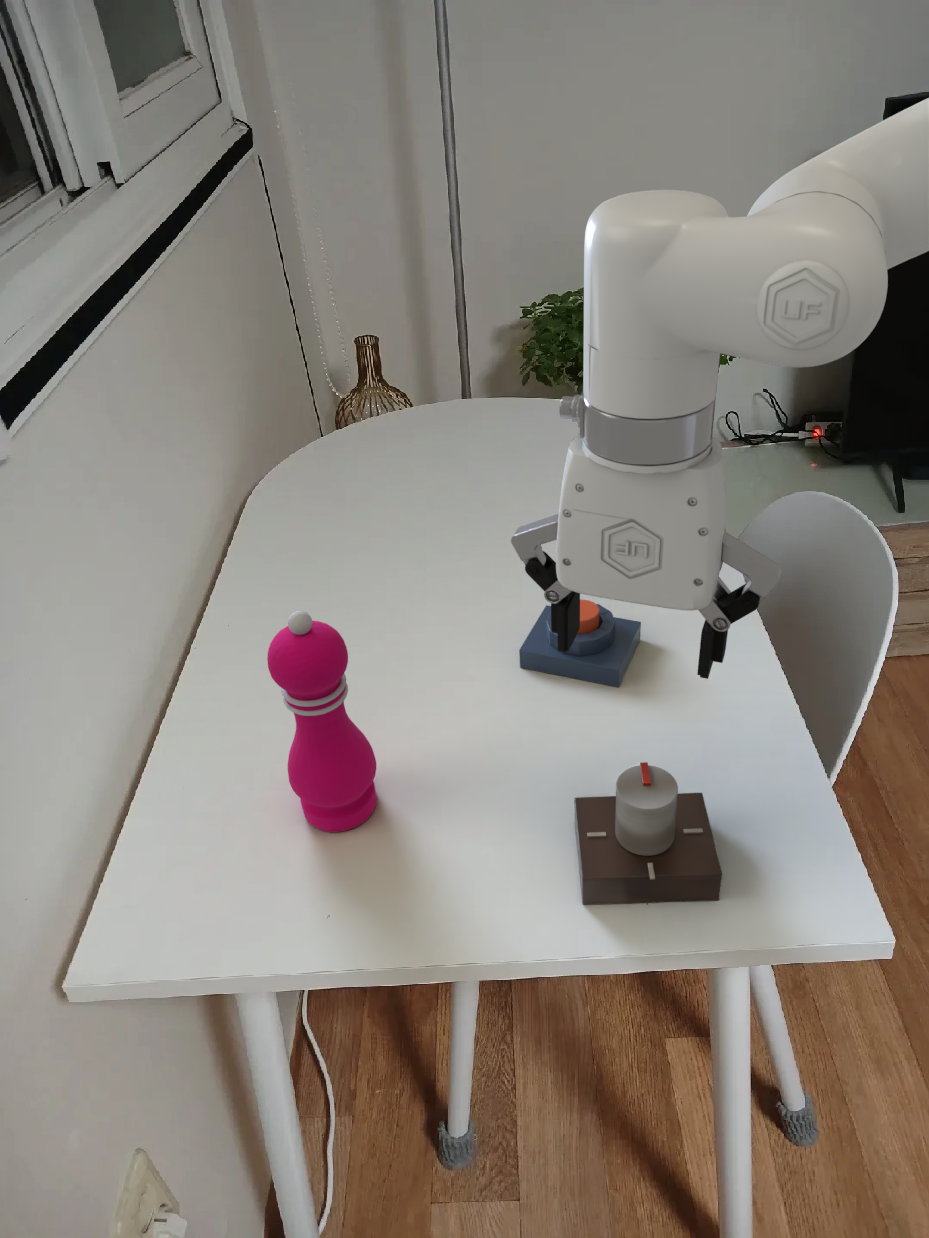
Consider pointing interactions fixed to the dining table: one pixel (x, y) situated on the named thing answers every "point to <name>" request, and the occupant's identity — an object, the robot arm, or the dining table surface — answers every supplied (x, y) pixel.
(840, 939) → the dining table surface
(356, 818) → the pepper mill
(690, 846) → the dial panel
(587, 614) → the button
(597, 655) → the button box
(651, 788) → the dial knob
